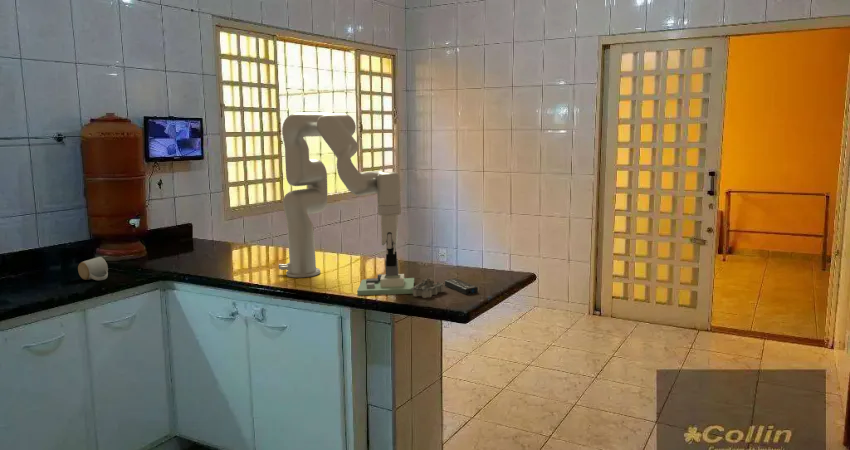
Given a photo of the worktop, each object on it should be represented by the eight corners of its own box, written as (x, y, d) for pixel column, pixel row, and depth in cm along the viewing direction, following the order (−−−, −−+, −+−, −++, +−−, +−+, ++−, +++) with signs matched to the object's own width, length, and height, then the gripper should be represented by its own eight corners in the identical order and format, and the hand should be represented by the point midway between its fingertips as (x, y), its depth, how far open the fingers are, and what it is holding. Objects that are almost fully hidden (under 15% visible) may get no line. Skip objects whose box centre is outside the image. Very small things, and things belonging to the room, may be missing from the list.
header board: (357, 295, 201) (356, 283, 201) (362, 283, 216) (361, 272, 215) (413, 293, 201) (412, 281, 200) (414, 282, 216) (413, 270, 215)
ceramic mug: (77, 279, 237) (75, 259, 236) (98, 274, 244) (96, 255, 243) (93, 282, 232) (91, 262, 231) (114, 278, 239) (112, 258, 237)
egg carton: (428, 288, 207) (428, 276, 207) (447, 291, 203) (446, 279, 202) (408, 296, 199) (408, 283, 198) (427, 299, 195) (427, 286, 194)
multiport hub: (455, 284, 212) (455, 278, 212) (478, 294, 199) (478, 287, 199) (444, 286, 210) (444, 279, 210) (466, 296, 197) (466, 289, 197)
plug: (385, 276, 206) (384, 248, 205) (386, 273, 209) (385, 246, 208) (397, 275, 206) (396, 248, 205) (398, 273, 209) (397, 246, 208)
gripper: (380, 207, 213) (382, 259, 215) (375, 213, 196) (378, 270, 199) (402, 206, 212) (404, 259, 215) (399, 213, 196) (401, 270, 199)
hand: (391, 264), depth 207 cm, fingers closed on plug, 3 cm apart
